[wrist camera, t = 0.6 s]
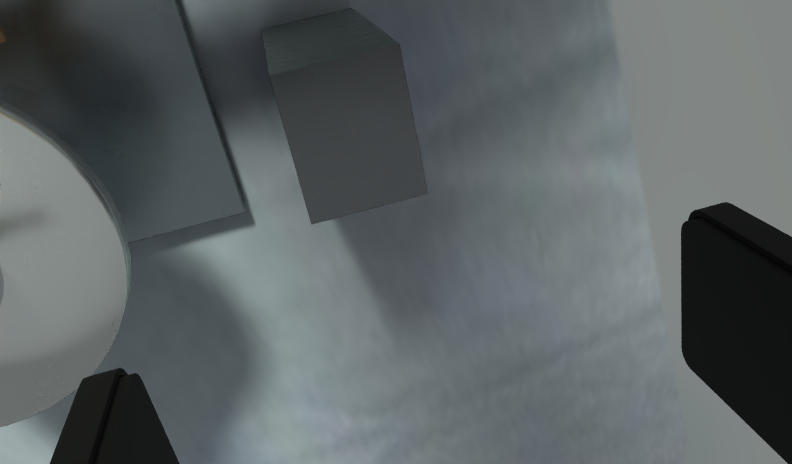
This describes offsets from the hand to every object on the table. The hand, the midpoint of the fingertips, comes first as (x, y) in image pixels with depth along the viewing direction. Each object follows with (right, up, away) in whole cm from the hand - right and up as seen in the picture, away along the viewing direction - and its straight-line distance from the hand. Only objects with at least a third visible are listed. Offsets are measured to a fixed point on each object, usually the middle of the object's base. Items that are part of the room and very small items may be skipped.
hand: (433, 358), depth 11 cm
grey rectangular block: (-4, +9, +19) cm, 21 cm away
